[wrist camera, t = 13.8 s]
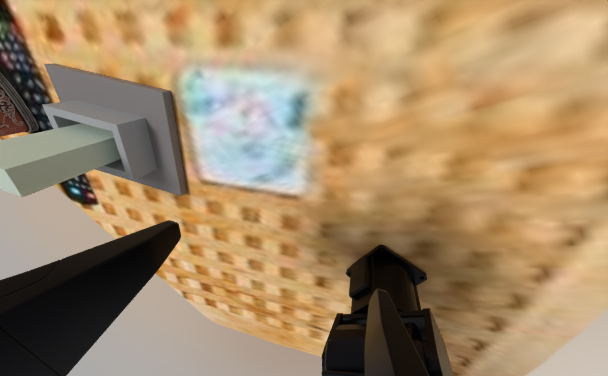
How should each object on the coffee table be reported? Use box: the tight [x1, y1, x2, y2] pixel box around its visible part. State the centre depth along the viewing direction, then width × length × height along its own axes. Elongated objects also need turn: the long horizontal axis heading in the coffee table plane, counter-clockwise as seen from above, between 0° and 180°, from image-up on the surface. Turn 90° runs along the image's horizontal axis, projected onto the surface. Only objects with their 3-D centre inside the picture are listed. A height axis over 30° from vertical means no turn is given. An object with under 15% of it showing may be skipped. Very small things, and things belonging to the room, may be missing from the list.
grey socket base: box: [43, 64, 187, 196], centre depth 24 cm, size 12×14×4 cm
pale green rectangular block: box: [0, 123, 121, 197], centre depth 20 cm, size 2×6×10 cm, turn 79°
